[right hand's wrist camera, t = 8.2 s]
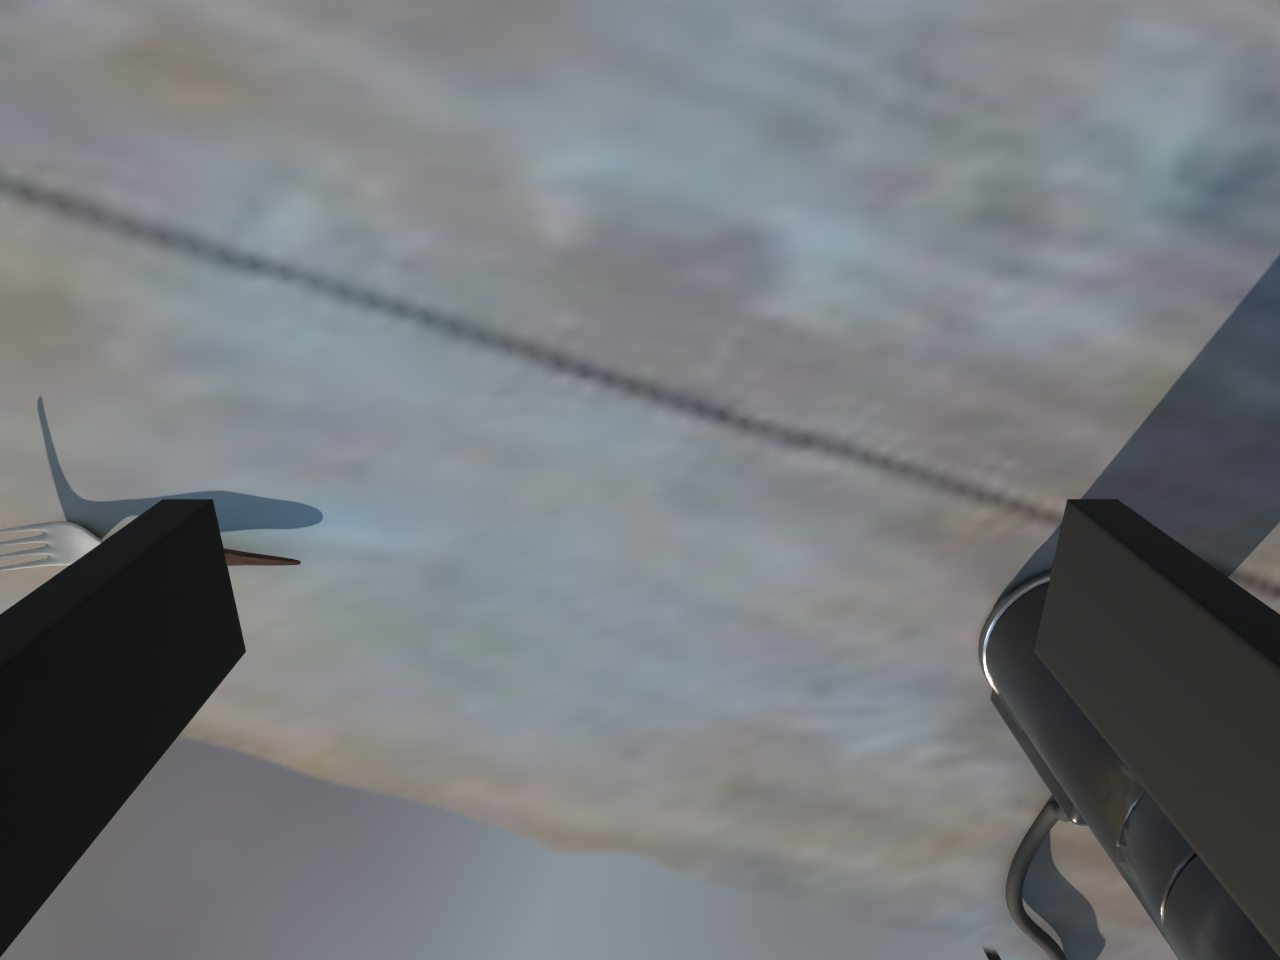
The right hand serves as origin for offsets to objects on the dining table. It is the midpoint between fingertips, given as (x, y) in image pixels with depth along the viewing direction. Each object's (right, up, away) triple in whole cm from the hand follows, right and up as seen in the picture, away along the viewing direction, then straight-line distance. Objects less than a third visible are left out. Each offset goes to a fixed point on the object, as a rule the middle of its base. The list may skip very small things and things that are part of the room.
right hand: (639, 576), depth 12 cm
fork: (-26, -2, +31) cm, 41 cm away
